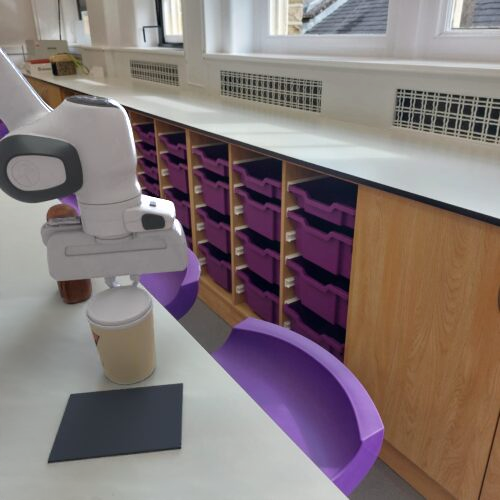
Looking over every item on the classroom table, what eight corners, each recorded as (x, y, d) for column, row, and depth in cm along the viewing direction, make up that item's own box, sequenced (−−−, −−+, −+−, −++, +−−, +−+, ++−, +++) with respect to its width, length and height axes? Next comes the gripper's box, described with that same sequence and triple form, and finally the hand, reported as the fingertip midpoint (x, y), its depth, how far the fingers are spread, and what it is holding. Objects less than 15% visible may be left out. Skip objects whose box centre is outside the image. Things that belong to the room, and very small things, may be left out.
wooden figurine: (57, 282, 102) (38, 200, 94) (88, 275, 104) (73, 194, 97) (62, 308, 92) (42, 219, 85) (97, 299, 94) (80, 212, 87)
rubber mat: (47, 463, 59) (47, 461, 59) (70, 395, 70) (70, 393, 70) (181, 448, 60) (180, 446, 60) (182, 384, 71) (182, 382, 71)
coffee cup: (109, 346, 79) (96, 284, 73) (166, 346, 79) (158, 284, 73) (91, 388, 71) (75, 322, 65) (155, 389, 70) (144, 322, 65)
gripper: (31, 227, 66) (52, 315, 71) (183, 216, 67) (192, 302, 73) (43, 212, 71) (62, 294, 77) (184, 201, 73) (192, 283, 79)
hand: (126, 298), depth 75 cm, fingers closed
